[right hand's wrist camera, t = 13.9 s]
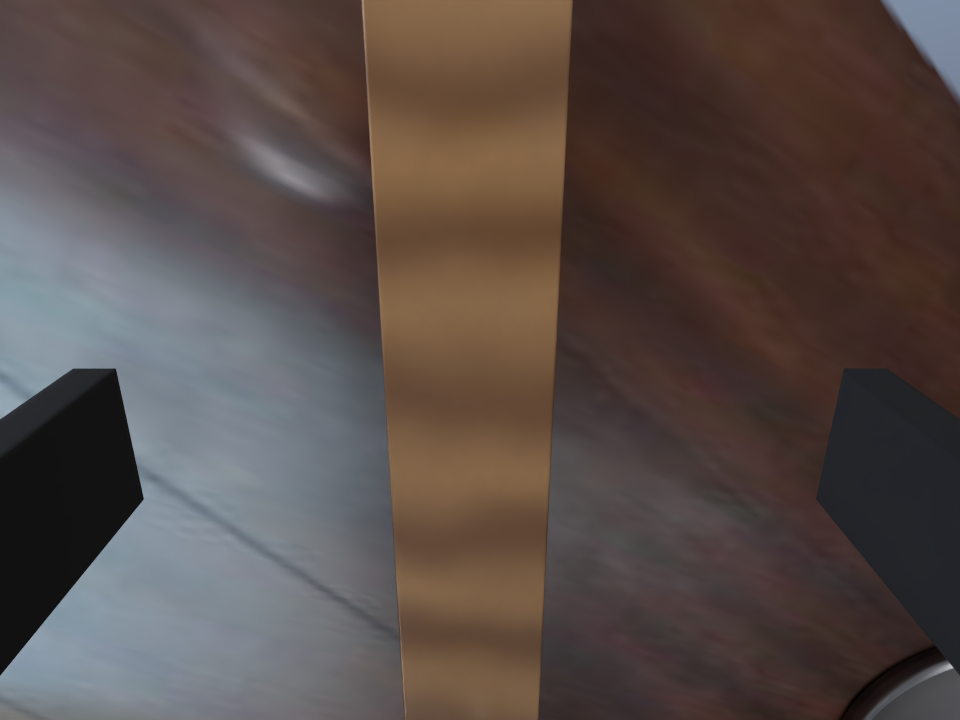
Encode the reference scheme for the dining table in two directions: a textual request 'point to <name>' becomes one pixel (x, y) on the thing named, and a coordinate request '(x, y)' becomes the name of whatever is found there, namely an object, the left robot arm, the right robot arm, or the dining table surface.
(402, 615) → the bar
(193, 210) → the dining table surface
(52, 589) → the right robot arm
